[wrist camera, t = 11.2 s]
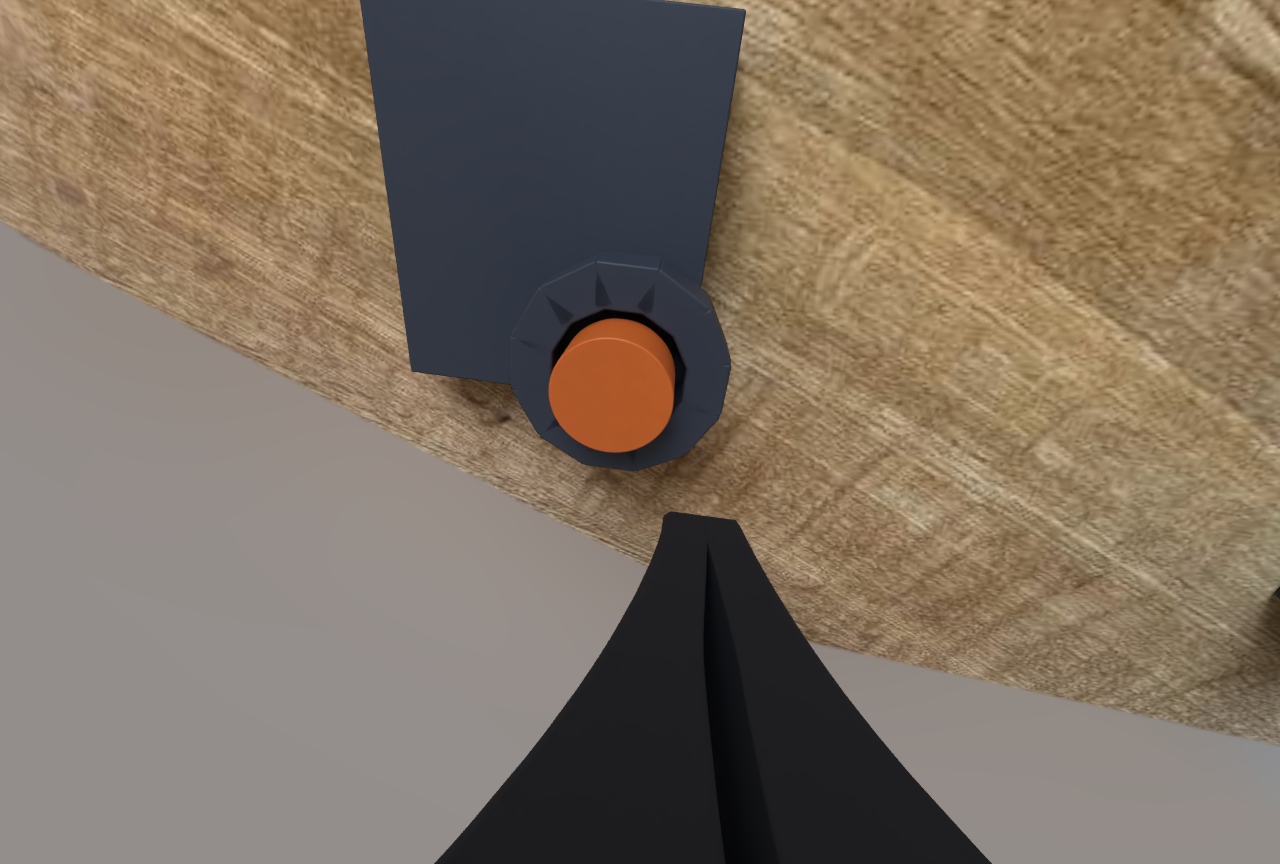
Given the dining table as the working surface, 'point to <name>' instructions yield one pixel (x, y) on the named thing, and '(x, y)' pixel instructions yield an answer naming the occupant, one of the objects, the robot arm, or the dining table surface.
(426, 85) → the button block
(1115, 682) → the dining table surface
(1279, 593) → the timer panel
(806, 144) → the dining table surface
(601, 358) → the button
